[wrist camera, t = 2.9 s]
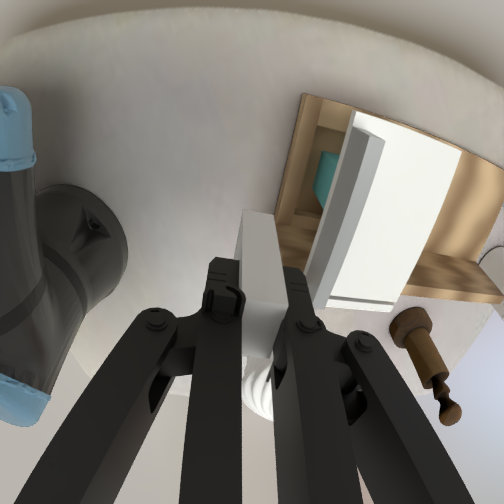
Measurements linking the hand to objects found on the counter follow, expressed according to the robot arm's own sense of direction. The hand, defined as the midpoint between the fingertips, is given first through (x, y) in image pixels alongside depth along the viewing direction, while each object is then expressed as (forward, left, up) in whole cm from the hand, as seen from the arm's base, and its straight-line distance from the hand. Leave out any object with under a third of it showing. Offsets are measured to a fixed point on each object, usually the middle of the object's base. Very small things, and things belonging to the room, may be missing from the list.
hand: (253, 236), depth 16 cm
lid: (+10, -1, -13) cm, 16 cm away
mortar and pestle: (+28, -19, -16) cm, 37 cm away
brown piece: (+18, 0, -16) cm, 24 cm away
